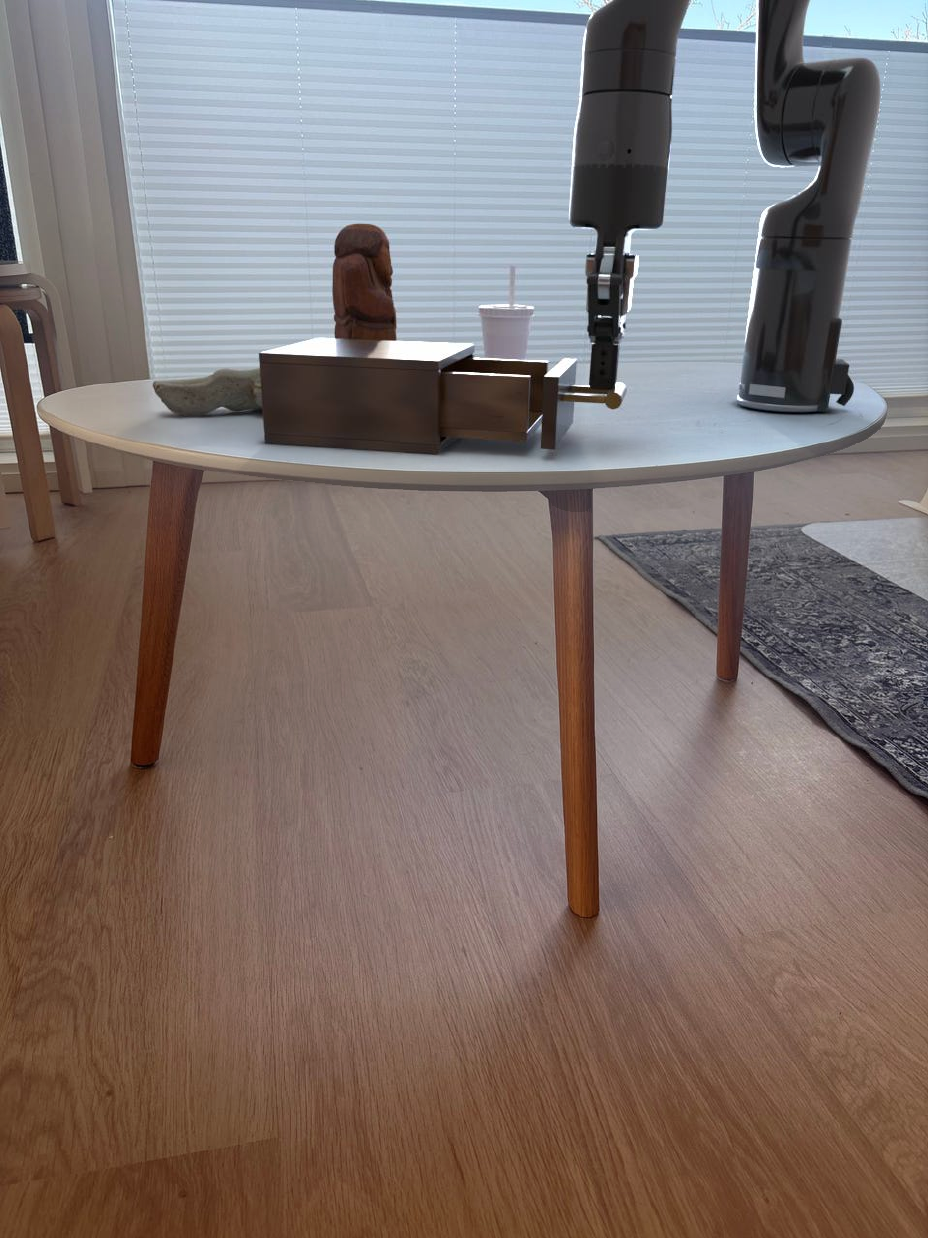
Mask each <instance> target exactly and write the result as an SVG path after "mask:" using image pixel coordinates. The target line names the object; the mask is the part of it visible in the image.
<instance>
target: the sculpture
mask: <svg viewBox="0 0 928 1238" xmlns="http://www.w3.org/2000/svg"><path fill="white" fill-rule="evenodd" d="M152 389H153V390H154V392H155V395H157V397H158V398H159V400H160V401H161V402H162V403H163V404H164V406H165V407H166V408H167V409H168V410H169V411H170V412H172V413H174V414H177V415H179V416H182V417H190V416H198V415H202V414H207V413H210V412H213V411H215V410H217V409H220V408H224V409H226V410H229V411H231V412H237V413H238V412H245V411H250V410H262V395H261V380H260V367H258V368H257V367H256V368H252V369H250V368H249V369H240V370H238V369H231V368H220V369H217V370H216V371H214V372H213V373H212V374H210V375H208V376H204V377H195V378H185V379H160V380H159V379H158V380H154V381H153V382H152Z"/></svg>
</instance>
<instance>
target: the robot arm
mask: <svg viewBox="0 0 928 1238" xmlns="http://www.w3.org/2000/svg"><path fill="white" fill-rule="evenodd" d="M810 1H811V0H755V66H754V67H755V69H754V70H755V73H754V74H755V75H754V121H755V122H754V123H755V134H756V140H757V147H758V149H759V153H760V155H761V157H762V158H763V161H764V162H765V163H767V164H768V165H770V166H772V167H780V168H785V167H786V168H794V167H818V171H817V173H816V176H815V177H814V180H813V181H812V182H811V183H810V184H809V185H807V187H806V188H804V189H803V190H801V191H800V192H798V193H797V194H796V195H793V196H791V197H790V198H788V199H785V200H783V201H780V202H778V203H775V204H773V205H770V206H768V207H767V208H766V209H765V210H764V211H763V212H762V214H761V217H760V220H759V221H760V222H759V229H758V231H759V232H758V238H757V244H756V252H755V253H756V254H755V262H754V270H753V278H752V286H751V293H750V300H749V308H748V318H747V325H746V333H745V341H744V349H743V355H742V365H741V372H740V381H739V385H738V394H737V397H736V404H738V405H739V406H741V407H745V408H748V409H753V410H760V411H768V412H779V413H813V412H817V413H818V412H819V413H823V412H824V413H827V412H828V410H829V405H830V400H831V399H830V398H831V395H840V396H839V397H838V398H837V400H836V403H837V404H838V405H841V406H843V407H845V406H846V405H847V404H848V402H849V401H850V400H851V398H852V397H853V396H854V391H855V384H854V382H853V380H852V378H851V377H850V375H849V370H850V364H849V363H848V362H846V361H845V360H844V359H843V358H837V356H838V350H839V344H840V337H841V330H842V324H843V319H842V318H841V317H840V314H841V308H842V302H843V296H844V289H845V285H846V277H847V271H848V265H849V258H850V253H851V246H852V238H853V235H854V234H853V233H854V228H855V223H856V219H857V216H858V213H859V210H860V205H861V202H862V196H863V191H864V185H865V180H866V177H867V176H866V175H867V172H868V171H867V170H868V166H869V161H870V156H871V152H872V147H873V144H874V143H873V142H874V137H875V133H876V128H877V123H878V118H879V113H880V103H881V78H880V73H879V70H878V68H877V66H876V64H875V62H873V61H872V60H871V59H869V58H867V57H847V58H846V57H845V58H839V59H837V58H836V59H828V60H819V61H808V62H805V60H804V34H805V26H806V18H807V12H808V9H809V5H810ZM690 2H691V0H611V1H609V2H608V3H606V4H605V5H603V6H602V7H600V8H598V9H597V10H596V11H594V12H593V13H592V14H591V15H590V17H589V18H588V20H587V22H586V26H585V29H584V36H583V43H582V44H583V45H582V60H581V75H580V91H579V96H580V97H579V101H578V102H579V103H578V109H577V115H576V120H575V126H574V134H573V149H572V161H571V163H572V165H571V177H570V178H571V179H570V193H569V195H570V196H569V209H568V213H569V214H568V223H569V225H570V226H571V227H573V228H575V229H585V230H586V229H587V230H595V231H596V240H595V249H594V253H586V257H585V267H584V269H585V270H584V274H585V276H586V285H587V288H586V290H587V291H586V305H585V311H586V313H587V321H588V322H587V327H586V332H588V334H587V335H588V339H589V342H590V343H591V348H590V349H591V350H590V351H591V352H590V361H589V362H590V366H589V378H588V386H590V388H592V389H595V390H611V389H613V388H614V387H615V385H616V383H617V382H618V381H617V380H618V370H619V358H620V348H621V347H620V344H621V343H622V341H623V339H624V337H625V329H627V322H626V319H627V313H629V312H630V311H631V308H632V301H633V300H632V299H633V290H634V289H633V288H634V280H635V278H636V277H637V275H638V268H639V254H631V243H632V235H633V233H634V232H636V231H657V230H659V229H660V228H662V226H663V224H664V218H665V210H666V198H667V188H668V178H669V167H670V160H671V159H670V157H671V149H672V148H671V146H672V137H673V113H672V112H673V111H672V110H673V107H672V106H673V98H672V97H673V93H674V83H675V74H676V62H677V48H678V41H679V40H678V39H679V35H680V32H681V28H682V26H683V23H684V19H685V17H686V14H687V11H688V9H689V5H690Z"/></svg>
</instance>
